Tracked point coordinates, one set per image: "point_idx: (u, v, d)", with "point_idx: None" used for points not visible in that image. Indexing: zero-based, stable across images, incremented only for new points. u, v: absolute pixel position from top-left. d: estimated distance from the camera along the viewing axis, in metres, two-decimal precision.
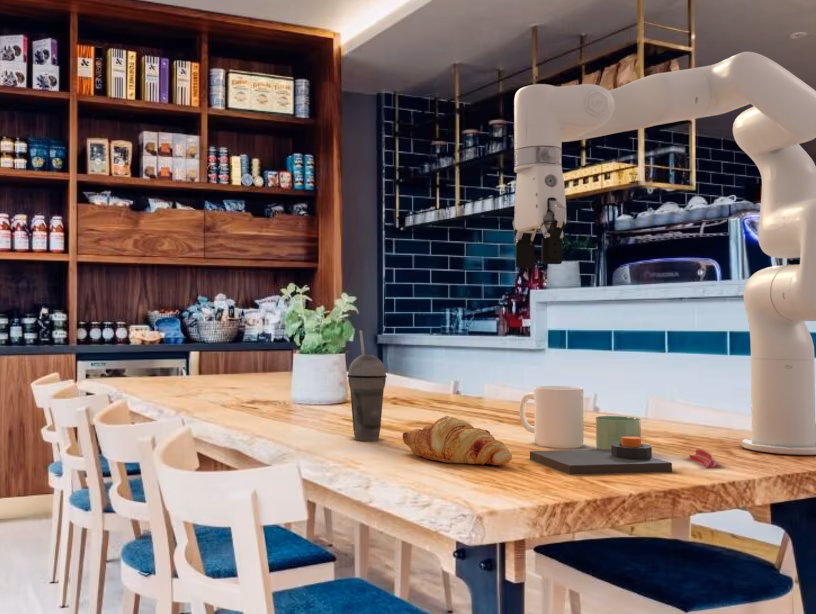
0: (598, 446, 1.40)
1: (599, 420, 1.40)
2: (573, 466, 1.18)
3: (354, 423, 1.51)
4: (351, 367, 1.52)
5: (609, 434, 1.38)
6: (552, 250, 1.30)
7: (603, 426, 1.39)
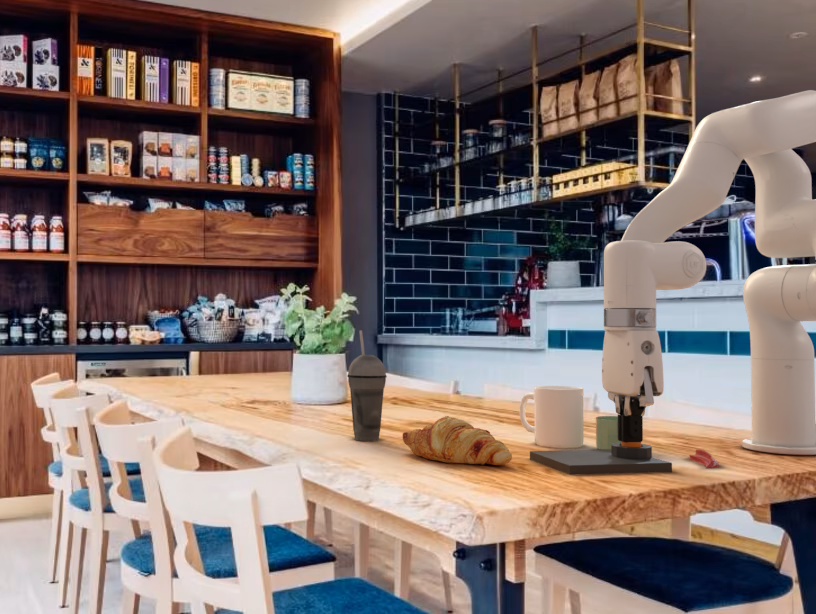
0: (598, 446, 1.40)
1: (599, 420, 1.40)
2: (573, 466, 1.18)
3: (354, 423, 1.51)
4: (351, 367, 1.52)
5: (609, 434, 1.38)
6: (633, 428, 1.25)
7: (603, 426, 1.39)
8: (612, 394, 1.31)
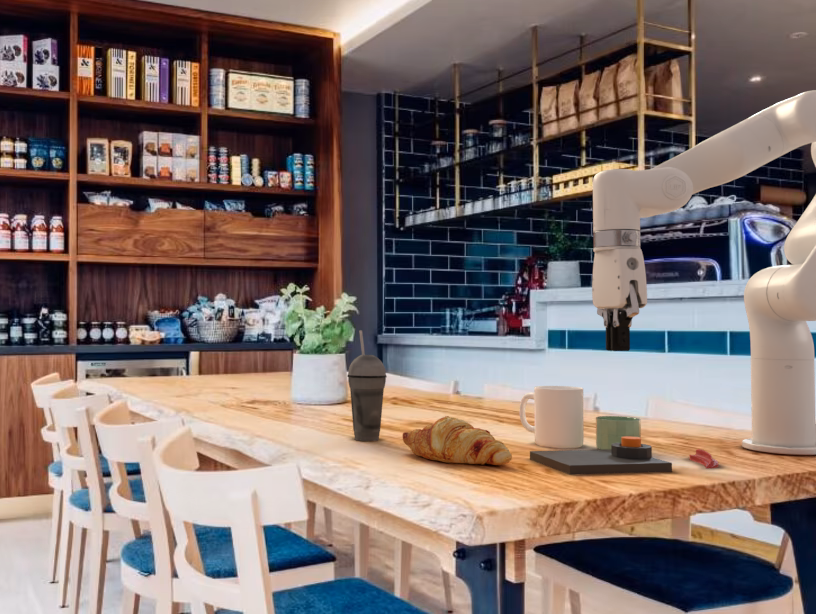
0: (598, 446, 1.40)
1: (599, 420, 1.40)
2: (573, 466, 1.18)
3: (354, 423, 1.51)
4: (351, 367, 1.52)
5: (609, 434, 1.38)
6: (621, 338, 1.39)
7: (603, 426, 1.39)
8: (601, 310, 1.45)
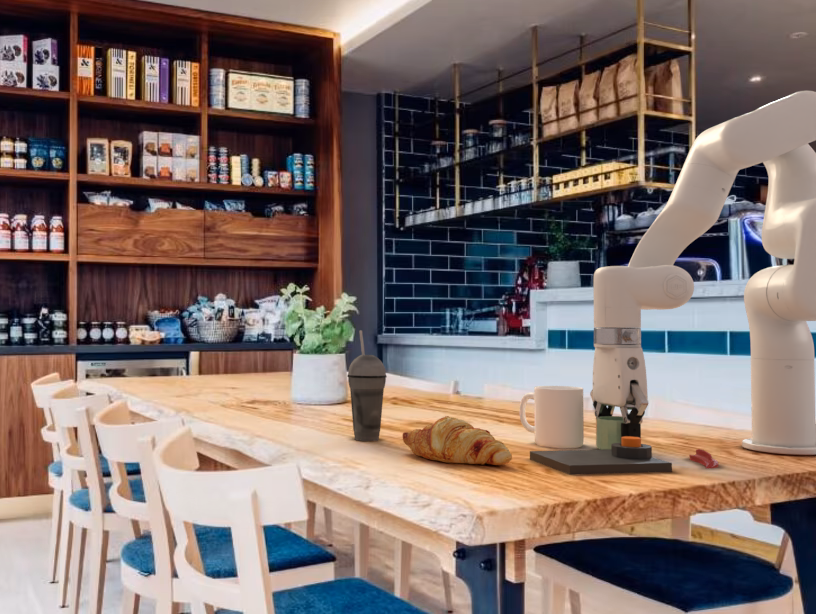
0: (598, 446, 1.40)
1: (599, 420, 1.40)
2: (573, 466, 1.18)
3: (354, 423, 1.51)
4: (351, 367, 1.52)
5: (609, 434, 1.38)
6: (631, 435, 1.35)
7: (603, 426, 1.39)
8: None
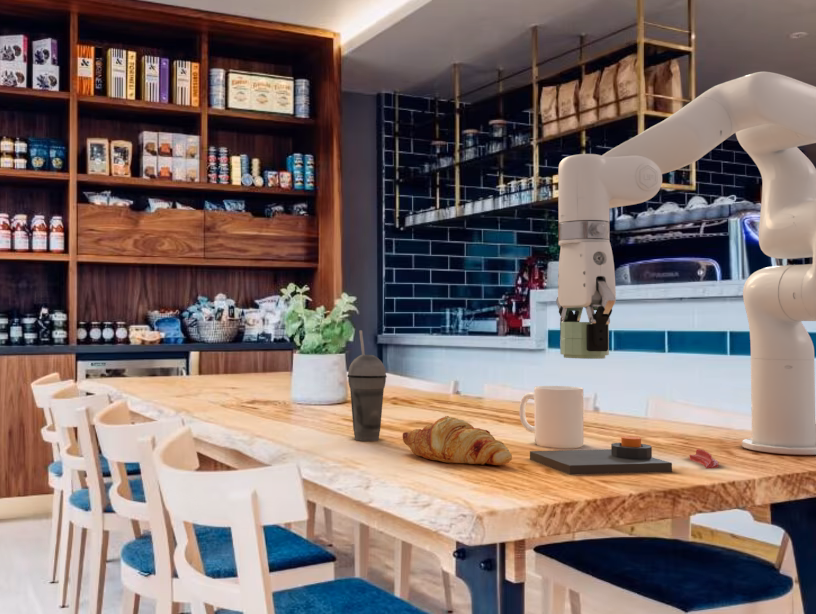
0: (562, 352, 1.27)
1: (563, 323, 1.27)
2: (573, 466, 1.18)
3: (354, 423, 1.51)
4: (351, 367, 1.52)
5: (573, 337, 1.25)
6: (598, 337, 1.23)
7: (567, 330, 1.26)
8: None
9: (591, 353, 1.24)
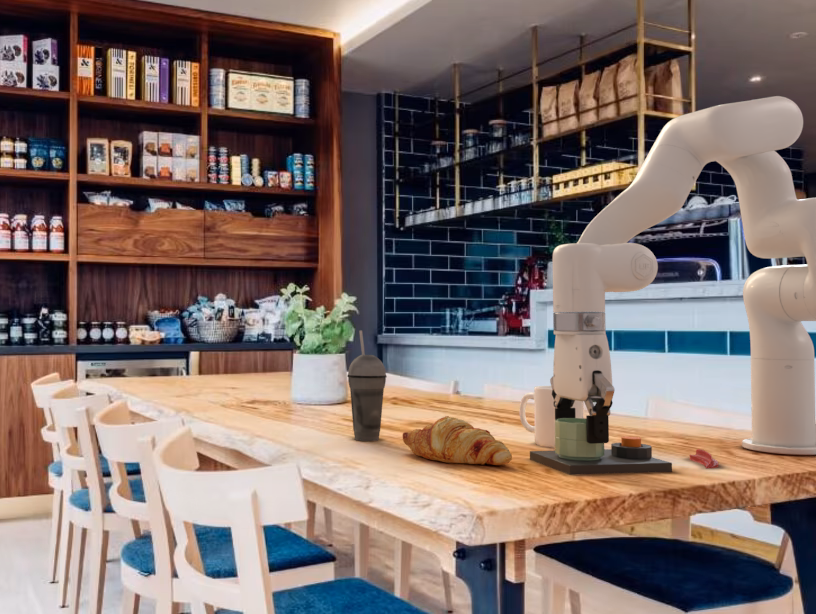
0: (556, 452, 1.25)
1: (557, 422, 1.24)
2: (573, 466, 1.18)
3: (354, 423, 1.51)
4: (351, 367, 1.52)
5: (568, 438, 1.23)
6: (598, 429, 1.20)
7: (562, 430, 1.24)
8: (553, 384, 1.33)
9: (586, 455, 1.22)
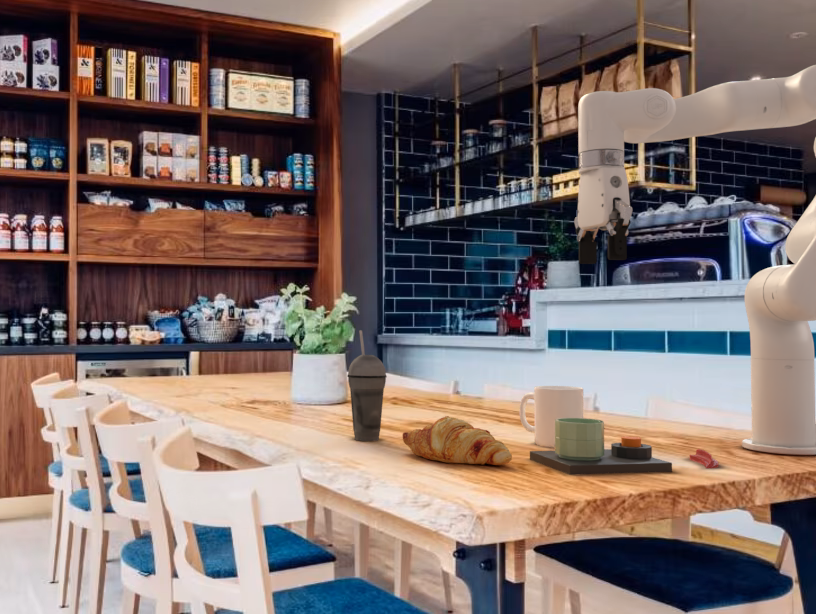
0: (556, 452, 1.25)
1: (557, 422, 1.24)
2: (573, 466, 1.18)
3: (354, 423, 1.51)
4: (351, 367, 1.52)
5: (568, 438, 1.23)
6: (617, 246, 1.38)
7: (562, 430, 1.24)
8: (577, 223, 1.52)
9: (586, 455, 1.22)
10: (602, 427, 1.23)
